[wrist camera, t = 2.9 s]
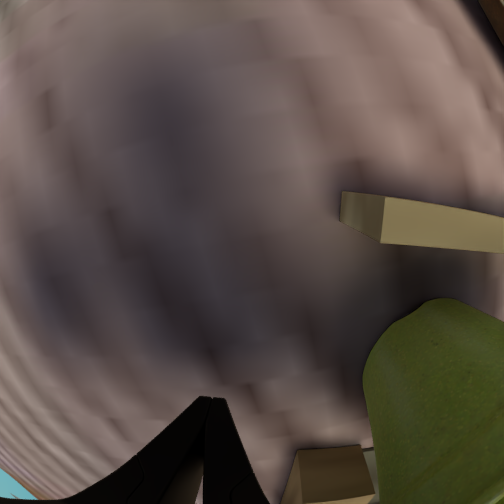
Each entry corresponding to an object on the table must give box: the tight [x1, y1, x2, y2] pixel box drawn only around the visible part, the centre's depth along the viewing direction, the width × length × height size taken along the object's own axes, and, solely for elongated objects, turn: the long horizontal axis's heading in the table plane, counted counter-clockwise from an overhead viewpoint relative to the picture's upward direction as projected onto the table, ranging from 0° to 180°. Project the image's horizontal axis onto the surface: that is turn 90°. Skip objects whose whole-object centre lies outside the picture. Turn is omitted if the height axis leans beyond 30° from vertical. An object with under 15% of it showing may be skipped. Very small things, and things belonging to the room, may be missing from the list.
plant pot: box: [363, 298, 504, 504], centre depth 6 cm, size 9×9×9 cm
